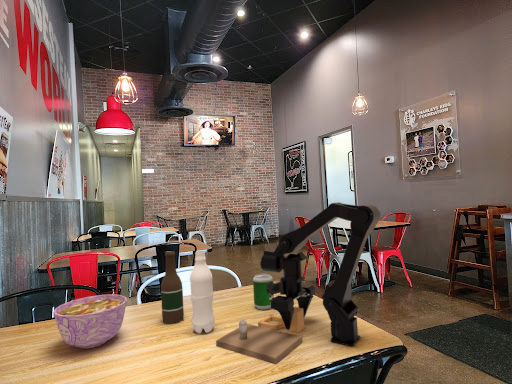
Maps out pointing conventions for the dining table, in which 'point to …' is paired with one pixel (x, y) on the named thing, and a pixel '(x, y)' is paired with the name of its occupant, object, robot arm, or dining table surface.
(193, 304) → the water bottle
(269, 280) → the soda can
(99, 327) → the bowl of food
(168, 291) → the beer bottle
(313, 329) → the dining table surface
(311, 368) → the dining table surface
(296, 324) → the square frame with handle
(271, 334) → the board
